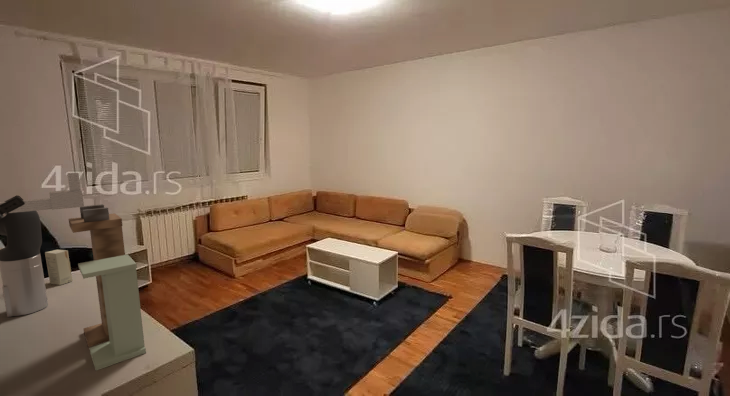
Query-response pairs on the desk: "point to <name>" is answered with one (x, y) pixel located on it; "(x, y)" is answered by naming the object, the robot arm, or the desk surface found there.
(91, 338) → the wooden pedestal post
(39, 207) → the grey stepped block
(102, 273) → the green flanged bracket
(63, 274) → the skincare box
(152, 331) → the desk surface
